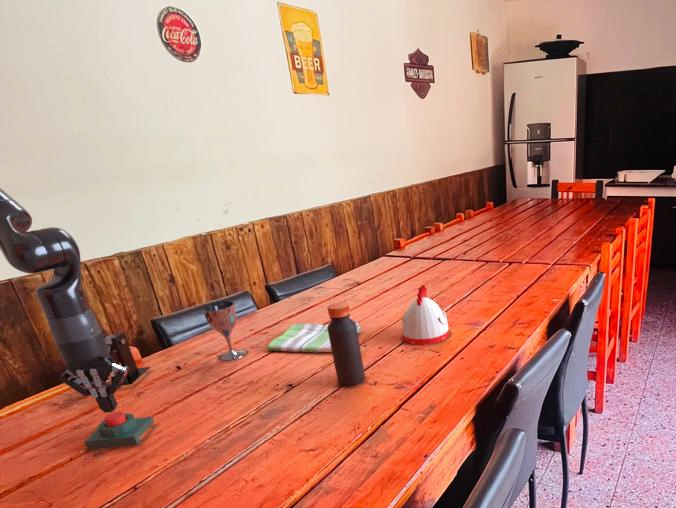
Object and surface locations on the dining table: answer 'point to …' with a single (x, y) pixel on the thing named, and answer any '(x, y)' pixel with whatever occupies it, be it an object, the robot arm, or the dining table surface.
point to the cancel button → (115, 419)
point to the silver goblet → (223, 324)
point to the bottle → (345, 345)
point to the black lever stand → (125, 358)
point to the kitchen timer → (424, 321)
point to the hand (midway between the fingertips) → (110, 410)
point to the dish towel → (304, 339)
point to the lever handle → (110, 346)
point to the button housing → (119, 433)
